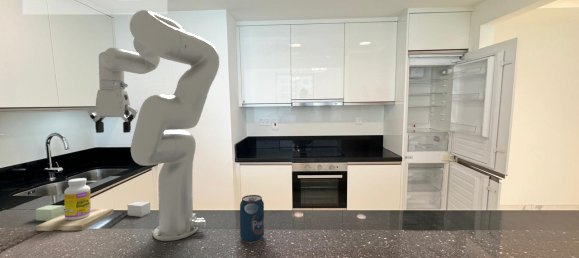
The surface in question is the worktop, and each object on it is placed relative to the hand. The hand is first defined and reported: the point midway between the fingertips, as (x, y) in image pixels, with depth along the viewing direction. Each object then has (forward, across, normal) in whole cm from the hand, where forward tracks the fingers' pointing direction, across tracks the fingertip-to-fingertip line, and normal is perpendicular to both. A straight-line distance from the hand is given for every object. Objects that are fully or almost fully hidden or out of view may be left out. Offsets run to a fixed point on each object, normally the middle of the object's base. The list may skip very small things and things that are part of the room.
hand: (113, 132), depth 90 cm
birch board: (+30, +7, +8) cm, 32 cm away
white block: (+30, -10, +2) cm, 32 cm away
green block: (+30, +19, +5) cm, 36 cm away
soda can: (+31, -54, +23) cm, 66 cm away
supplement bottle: (+29, +7, +8) cm, 31 cm away
